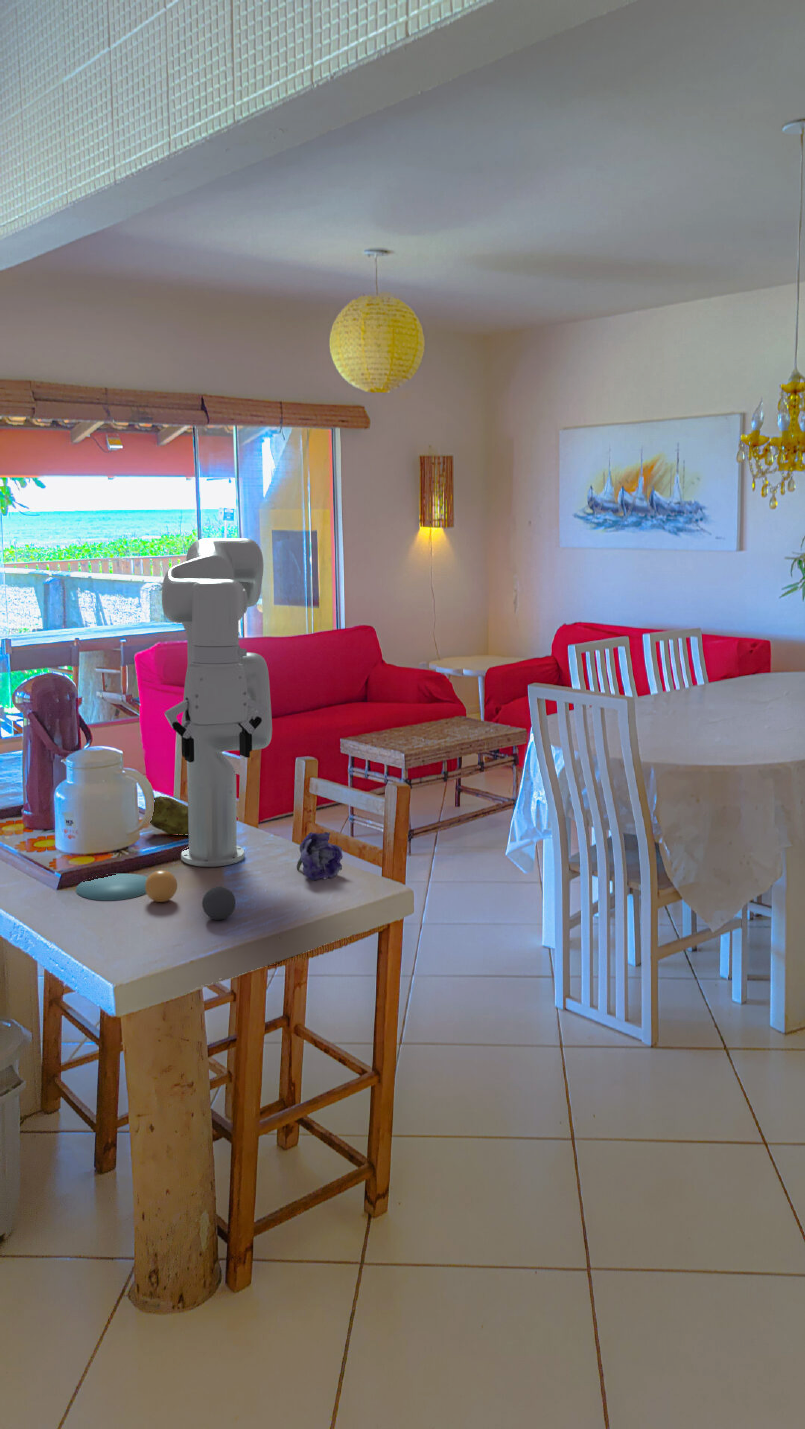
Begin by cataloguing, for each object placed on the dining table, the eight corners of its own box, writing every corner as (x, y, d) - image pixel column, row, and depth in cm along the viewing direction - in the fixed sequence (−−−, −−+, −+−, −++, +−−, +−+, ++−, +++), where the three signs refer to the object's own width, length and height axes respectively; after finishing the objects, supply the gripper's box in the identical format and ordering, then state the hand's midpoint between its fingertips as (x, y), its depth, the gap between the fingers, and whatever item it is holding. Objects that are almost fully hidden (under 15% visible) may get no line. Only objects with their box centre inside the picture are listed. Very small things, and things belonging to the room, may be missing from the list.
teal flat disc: (92, 873, 205) (92, 872, 205) (163, 876, 204) (163, 875, 204) (64, 898, 191) (64, 897, 191) (141, 902, 190) (141, 901, 190)
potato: (192, 842, 225) (191, 805, 223) (138, 835, 229) (137, 799, 227) (211, 831, 233) (210, 796, 231) (159, 825, 237) (158, 790, 235)
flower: (274, 840, 206) (316, 824, 202) (300, 847, 213) (341, 832, 209) (281, 886, 202) (324, 871, 198) (307, 892, 209) (349, 877, 205)
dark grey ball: (207, 911, 186) (206, 881, 185) (238, 913, 186) (238, 882, 185) (198, 923, 181) (198, 892, 180) (231, 925, 180) (231, 893, 179)
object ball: (150, 894, 194) (150, 865, 193) (181, 896, 193) (180, 866, 192) (141, 905, 188) (140, 875, 187) (172, 907, 188) (171, 876, 187)
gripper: (257, 653, 184) (257, 751, 186) (157, 656, 175) (160, 759, 178) (273, 656, 177) (274, 758, 179) (171, 660, 169) (173, 766, 171)
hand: (217, 758), depth 179 cm, fingers open, 9 cm apart
